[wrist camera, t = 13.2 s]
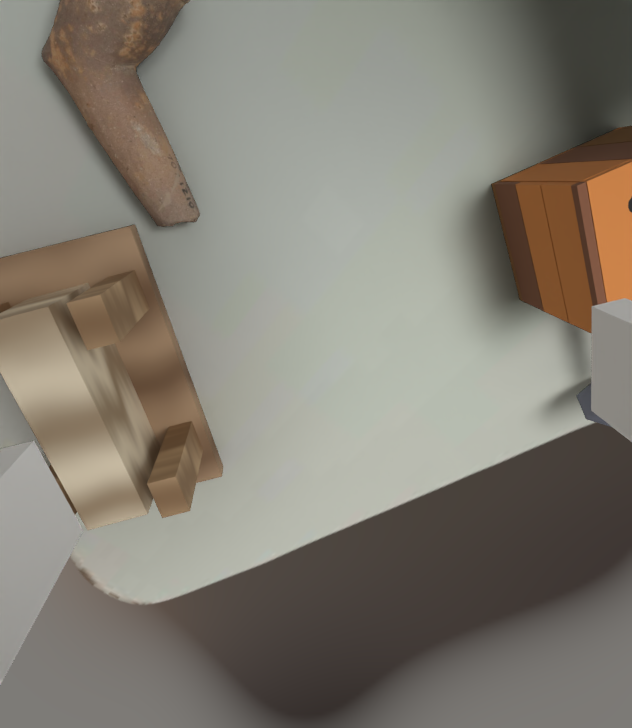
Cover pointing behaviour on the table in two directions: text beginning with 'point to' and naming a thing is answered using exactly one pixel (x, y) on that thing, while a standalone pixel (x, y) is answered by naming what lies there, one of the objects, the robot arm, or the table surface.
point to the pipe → (122, 93)
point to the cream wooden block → (79, 409)
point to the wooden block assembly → (127, 347)
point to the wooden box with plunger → (572, 231)
